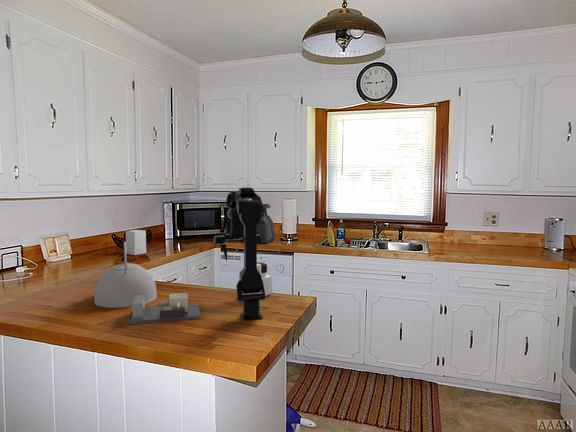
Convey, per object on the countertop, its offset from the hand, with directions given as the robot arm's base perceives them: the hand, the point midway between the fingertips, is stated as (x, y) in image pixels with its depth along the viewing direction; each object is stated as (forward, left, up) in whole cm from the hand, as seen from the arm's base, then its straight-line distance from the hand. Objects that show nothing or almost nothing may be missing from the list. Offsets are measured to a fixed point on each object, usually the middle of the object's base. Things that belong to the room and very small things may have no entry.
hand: (237, 260), depth 158 cm
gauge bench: (-18, +28, -14) cm, 36 cm away
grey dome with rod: (+6, +43, -15) cm, 46 cm away
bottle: (+138, -39, -15) cm, 145 cm away
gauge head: (-20, +25, -13) cm, 35 cm away
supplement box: (+108, +50, -15) cm, 120 cm away
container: (-2, -8, -15) cm, 17 cm away
